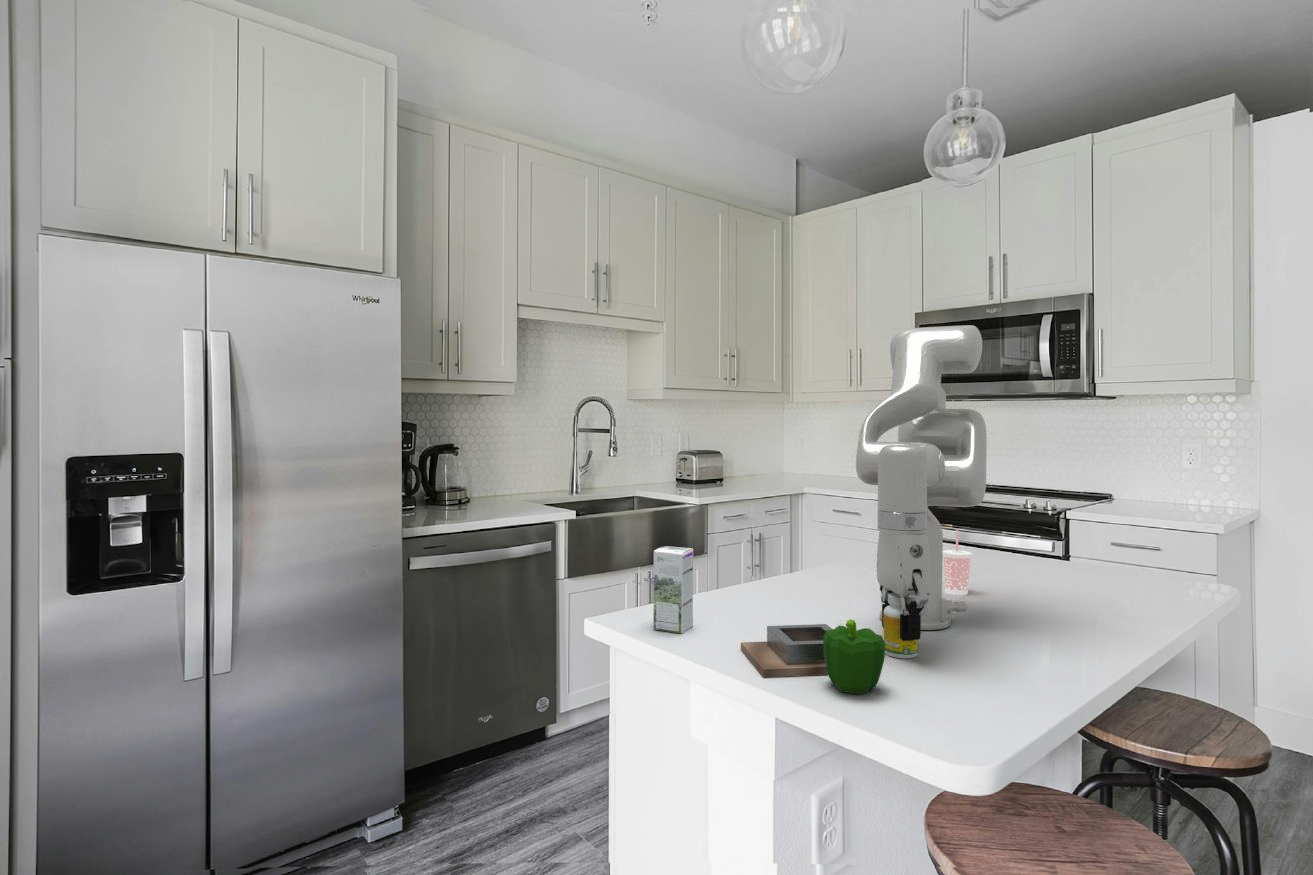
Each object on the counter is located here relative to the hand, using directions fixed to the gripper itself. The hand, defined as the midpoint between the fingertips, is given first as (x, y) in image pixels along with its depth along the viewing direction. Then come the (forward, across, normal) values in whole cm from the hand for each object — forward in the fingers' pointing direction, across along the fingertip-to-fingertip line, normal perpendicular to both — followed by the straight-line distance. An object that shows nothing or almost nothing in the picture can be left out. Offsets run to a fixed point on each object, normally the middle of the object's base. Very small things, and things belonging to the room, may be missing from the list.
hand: (900, 632), depth 115 cm
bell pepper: (+4, -13, +14) cm, 19 cm away
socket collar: (+2, -1, +16) cm, 16 cm away
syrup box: (+4, +19, +34) cm, 39 cm away
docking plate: (+3, -1, +16) cm, 17 cm away
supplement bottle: (+4, 0, 0) cm, 4 cm away
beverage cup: (+4, +39, -33) cm, 51 cm away
